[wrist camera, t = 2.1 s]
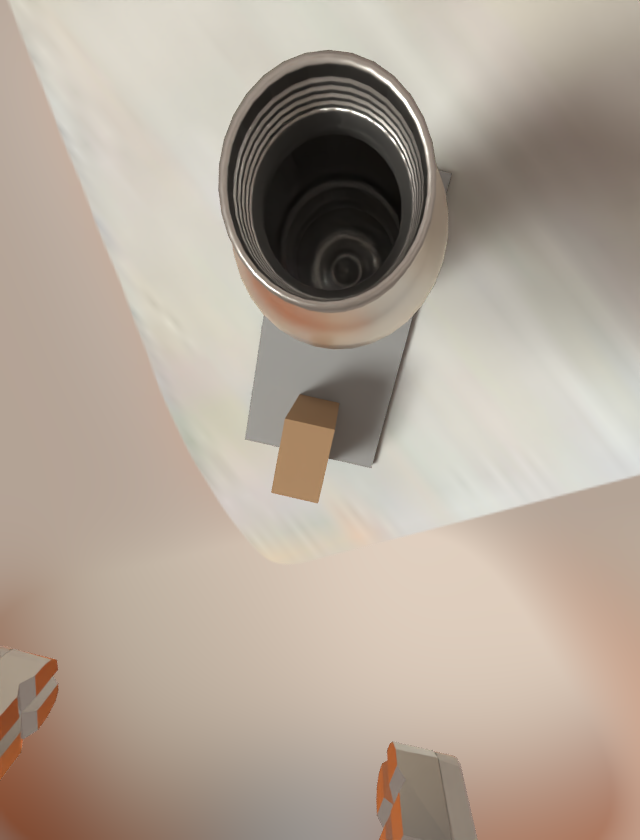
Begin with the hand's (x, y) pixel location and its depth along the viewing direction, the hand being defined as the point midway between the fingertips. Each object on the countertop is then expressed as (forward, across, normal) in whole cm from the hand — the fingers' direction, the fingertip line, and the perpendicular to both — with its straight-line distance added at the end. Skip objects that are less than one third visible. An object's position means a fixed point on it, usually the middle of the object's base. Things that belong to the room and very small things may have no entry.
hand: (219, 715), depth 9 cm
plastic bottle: (+21, 0, -12) cm, 24 cm away
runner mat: (+21, 0, -8) cm, 23 cm away
